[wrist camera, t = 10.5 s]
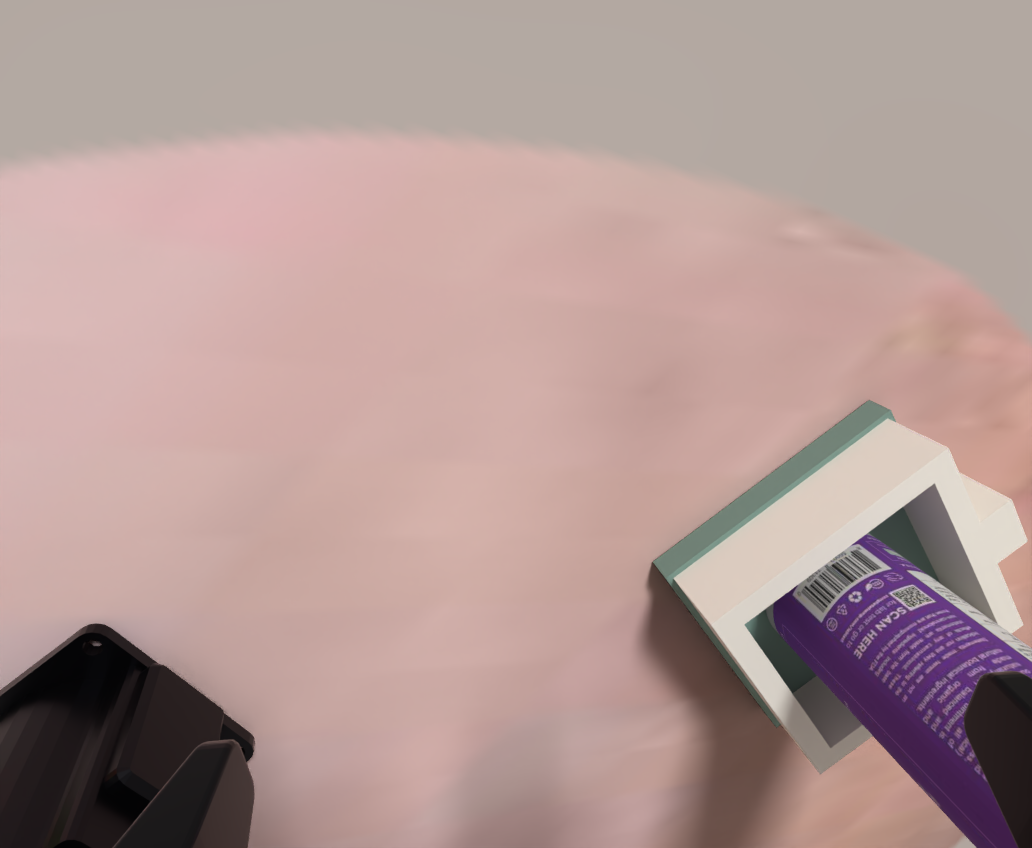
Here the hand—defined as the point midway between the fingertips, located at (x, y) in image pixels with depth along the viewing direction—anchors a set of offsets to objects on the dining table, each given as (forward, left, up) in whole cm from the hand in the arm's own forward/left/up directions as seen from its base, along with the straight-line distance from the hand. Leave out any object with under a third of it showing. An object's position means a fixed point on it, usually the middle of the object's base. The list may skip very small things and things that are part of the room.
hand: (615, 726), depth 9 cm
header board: (+6, -14, -13) cm, 20 cm away
